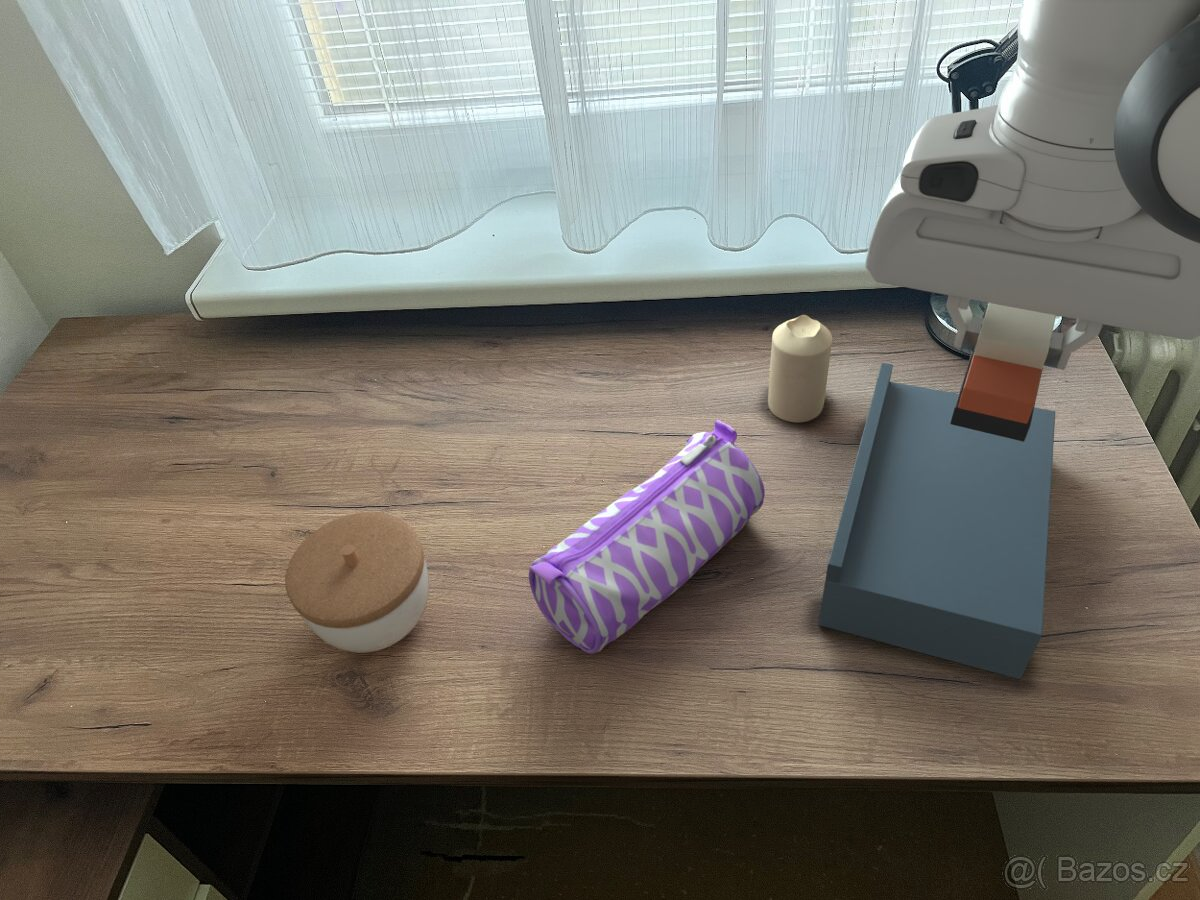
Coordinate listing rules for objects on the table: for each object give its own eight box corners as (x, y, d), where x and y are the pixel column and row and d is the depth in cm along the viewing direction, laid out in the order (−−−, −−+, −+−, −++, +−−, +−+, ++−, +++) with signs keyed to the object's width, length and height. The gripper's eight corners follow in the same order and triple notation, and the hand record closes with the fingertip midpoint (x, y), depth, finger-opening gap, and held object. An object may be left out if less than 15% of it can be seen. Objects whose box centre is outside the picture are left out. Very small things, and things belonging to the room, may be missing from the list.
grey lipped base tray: (1037, 458, 80) (1062, 393, 75) (1020, 680, 65) (1050, 619, 59) (869, 426, 85) (881, 362, 79) (817, 625, 70) (828, 564, 64)
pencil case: (693, 470, 83) (692, 395, 76) (774, 517, 78) (781, 442, 71) (524, 621, 72) (506, 550, 66) (606, 687, 67) (595, 618, 61)
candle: (764, 420, 87) (770, 340, 80) (770, 384, 90) (776, 304, 83) (821, 425, 85) (832, 345, 78) (825, 388, 89) (835, 309, 82)
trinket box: (468, 599, 74) (445, 529, 68) (382, 698, 68) (347, 631, 62) (377, 550, 79) (347, 480, 72) (288, 639, 73) (247, 571, 66)
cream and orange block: (981, 321, 65) (996, 267, 62) (1048, 334, 63) (1067, 279, 60) (949, 424, 58) (964, 369, 55) (1024, 442, 56) (1044, 387, 53)
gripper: (1283, 161, 48) (1184, 359, 57) (900, 116, 55) (870, 298, 65) (1287, 220, 44) (1181, 420, 54) (875, 163, 51) (847, 348, 61)
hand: (1008, 353), depth 59 cm, fingers closed on cream and orange block, 4 cm apart
